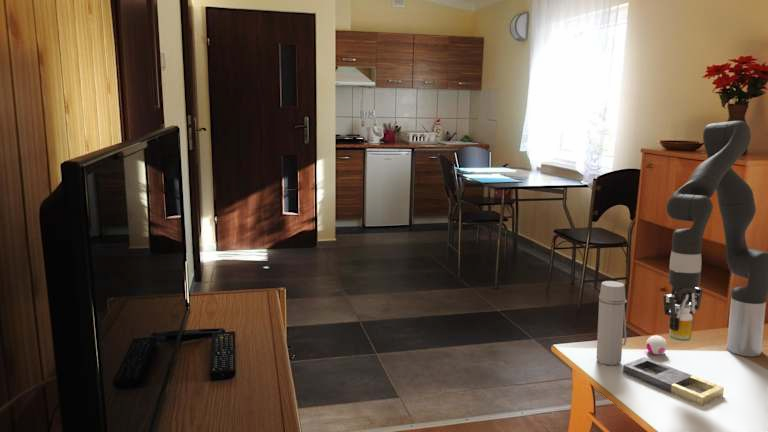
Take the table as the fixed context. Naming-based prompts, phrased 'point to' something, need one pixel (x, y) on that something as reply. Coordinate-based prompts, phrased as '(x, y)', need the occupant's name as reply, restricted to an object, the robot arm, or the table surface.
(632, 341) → the table surface
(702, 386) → the rail
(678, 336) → the supplement bottle
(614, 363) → the water bottle
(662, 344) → the stress ball
